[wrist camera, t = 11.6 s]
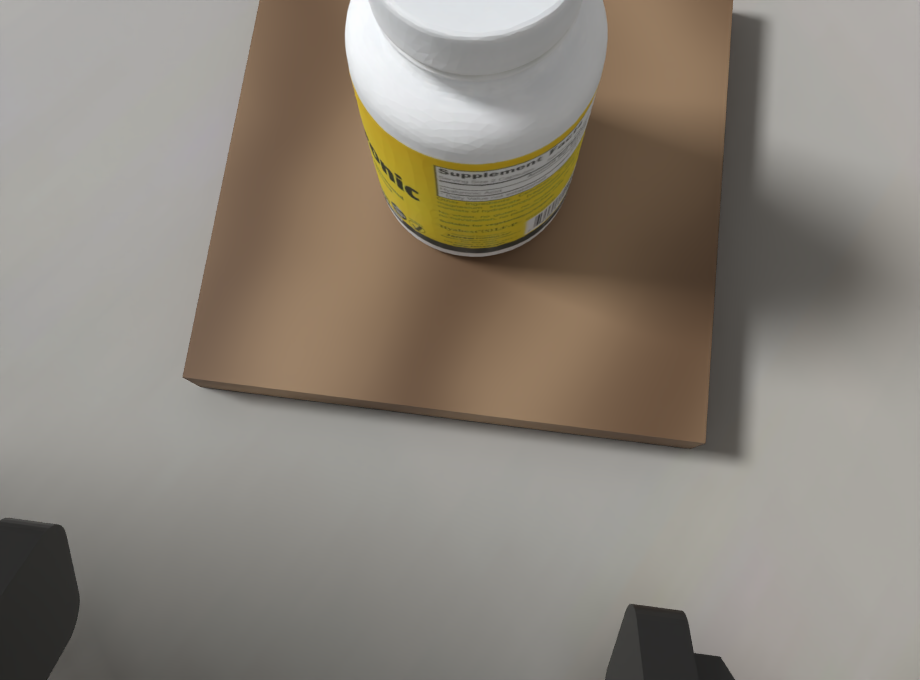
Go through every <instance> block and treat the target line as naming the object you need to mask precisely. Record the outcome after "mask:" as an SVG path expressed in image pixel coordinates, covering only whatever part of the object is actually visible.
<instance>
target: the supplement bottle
mask: <svg viewBox="0 0 920 680" xmlns="http://www.w3.org/2000/svg"><path fill="white" fill-rule="evenodd" d="M607 40H608V29H607V18H606V12H605V7H604V3H603V0H350V4H349V8H348V11H347V18H346V26H345V48H346V55H347V60H348V66H349V73H350V77H351V80H352V84H353V87H354V92H355V96H356V100H357V103H358V108H359V112H360V115H361V119H362V123H363V126H364V129H365V134H366V137H367V139H368V143H369V147H370V150H371V154H372V158H373V162H374V165H375V168H376V171H377V175H378V179H379V182H380V186H381V189H382V191H383V194H384V197H385V199H386V201H387V203H388V205H389V207H390V209H391V211H392V213H393V214H394V215H395V217H396V218H397V220H398V221H399V222H400V223H401V225H402V226H403V227H404V228H405V229H406V230H407V231H408V232H409V233H411V234H412V235H413V236H414V237H415V238H417V239H418V240H420V241H421V242H423V243H425V244H426V245H428V246H430V247H432V248H434V249H437V250H440V251H442V252H445V253H449V254H454V255H459V256H469V257H483V256H491V255H496V254H500V253H504V252H507V251H510V250H513V249H515V248H517V247H520V246H521V245H523V244H525V243H527V242H528V241H530V240H531V239H533V238H534V237H535V236H537V235H538V234H539V233H540V232H542V231H543V230H544V229H545V227H546V226H547V225H548V224H549V223H550V222H551V221H552V220H553V218H554V217H555V215H556V214H557V212H558V211H559V209H560V207H561V205H562V203H563V201H564V199H565V197H566V194H567V191H568V189H569V186H570V182H571V180H572V176H573V173H574V170H575V166H576V162H577V159H578V155H579V151H580V147H581V144H582V141H583V137H584V134H585V130H586V126H587V123H588V120H589V116H590V113H591V109H592V106H593V102H594V99H595V96H596V92H597V89H598V85H599V82H600V79H601V75H602V72H603V66H604V62H605V58H606V49H607Z"/></svg>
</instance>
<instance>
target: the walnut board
mask: <svg viewBox="0 0 920 680" xmlns="http://www.w3.org/2000/svg"><path fill="white" fill-rule="evenodd" d="M603 3H604V7H605V12H606V18H607V29H608V40H607V49H606V58H605V62H604V66H603V72H602V75H601V79H600V82H599V85H598V89H597V92H596V96H595V99H594V102H593V106H592V109H591V113H590V116H589V120H588V123H587V126H586V130H585V134H584V137H583V141H582V144H581V147H580V151H579V155H578V159H577V162H576V166H575V170H574V173H573V176H572V180H571V182H570V186H569V189H568V191H567V194H566V197H565V199H564V201H563V203H562V205H561V207H560V209H559V211H558V212H557V214H556V215H555V217H554V218H553V220H552V221H551V222H550V223H549V224H548V225H547V226H546V227H545V229H544V230H543V231H542V232H540V233H539V234H538V235H537V236H535V237H534V238H533V239H531V240H530V241H528V242H527V243H525V244H523V245H521V246H520V247H517V248H515V249H513V250H510V251H507V252H504V253H500V254H496V255H491V256H483V257H469V256H459V255H454V254H449V253H445V252H442V251H440V250H437V249H434V248H432V247H430V246H428V245H426V244H425V243H423V242H421V241H420V240H418V239H417V238H415V237H414V236H413V235H412V234H411V233H409V232H408V231H407V230H406V229H405V228H404V227H403V226H402V225H401V223H400V222H399V221H398V220H397V218H396V217H395V215H394V214H393V213H392V211H391V209H390V207H389V205H388V203H387V201H386V199H385V197H384V194H383V191H382V189H381V186H380V182H379V179H378V175H377V171H376V168H375V165H374V162H373V158H372V154H371V150H370V147H369V143H368V139H367V137H366V134H365V129H364V126H363V123H362V119H361V115H360V112H359V108H358V103H357V100H356V96H355V92H354V87H353V84H352V80H351V77H350V73H349V66H348V60H347V55H346V48H345V26H346V18H347V11H348V8H349V4H350V0H260V1H259V6H258V11H257V16H256V21H255V26H254V31H253V36H252V40H251V45H250V50H249V55H248V60H247V65H246V70H245V75H244V80H243V84H242V89H241V94H240V99H239V104H238V109H237V114H236V119H235V123H234V128H233V133H232V138H231V143H230V148H229V153H228V158H227V163H226V167H225V172H224V177H223V182H222V187H221V192H220V197H219V202H218V206H217V211H216V216H215V221H214V226H213V231H212V236H211V241H210V246H209V250H208V255H207V260H206V265H205V270H204V275H203V280H202V285H201V289H200V294H199V299H198V304H197V309H196V314H195V319H194V324H193V329H192V333H191V338H190V343H189V348H188V353H187V358H186V363H185V368H184V372H183V378H185V379H187V380H189V381H190V382H192V383H194V384H196V385H198V386H200V387H207V388H215V389H223V390H231V391H238V392H246V393H254V394H262V395H270V396H278V397H286V398H294V399H302V400H309V401H317V402H325V403H333V404H341V405H349V406H357V407H365V408H373V409H381V410H388V411H396V412H404V413H412V414H420V415H428V416H436V417H444V418H452V419H459V420H467V421H475V422H483V423H491V424H499V425H507V426H515V427H523V428H531V429H538V430H546V431H554V432H562V433H570V434H578V435H586V436H594V437H602V438H609V439H617V440H625V441H633V442H641V443H649V444H657V445H665V446H673V447H681V448H688V449H691V448H694V447H696V446H699V445H702V444H705V441H706V425H707V409H708V393H709V377H710V361H711V345H712V329H713V313H714V297H715V281H716V265H717V249H718V233H719V217H720V201H721V185H722V169H723V153H724V137H725V121H726V105H727V89H728V73H729V57H730V41H731V25H732V9H733V0H603Z"/></svg>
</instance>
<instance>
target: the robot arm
mask: <svg viewBox="0 0 920 680" xmlns="http://www.w3.org/2000/svg"><path fill="white" fill-rule="evenodd" d="M79 603H80V599H79V591H78V586H77V582H76V577H75V573H74V568H73V564H72V559H71V554H70V550H69V545H68V541H67V536H66V532H65V530H64V528H63V527H62V526H61V525H58V524H50V523H43V522H35V521H28V520H21V519H13V518H4V519H2V520H0V680H47V679H48V677H49V675H50V673H51V672H52V670H53V668H54V666H55V664H56V663H57V661H58V659H59V657H60V656H61V654H62V652H63V650H64V649H65V647H66V645H67V643H68V641H69V640H70V638H71V635H72V633H73V630H74V628H75V625H76V621H77V617H78V612H79ZM605 680H735V679H734V678H733V676H732V674H731V673H730V671H729V670H728V668H727V667H726V665H725V663H724V662H723V660H722V659H721V657H718V656H711V655H704V654H696V653H694V652H693V646H692V641H691V635H690V630H689V624H688V620H687V617H686V615H685V613H684V612H683V611H680V610H672V609H665V608H658V607H650V606H643V605H635V604H629V606H628V607H627V609H626V612H625V615H624V618H623V621H622V624H621V627H620V631H619V634H618V637H617V640H616V643H615V646H614V649H613V653H612V656H611V659H610V662H609V665H608V669H607V673H606V678H605Z"/></svg>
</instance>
